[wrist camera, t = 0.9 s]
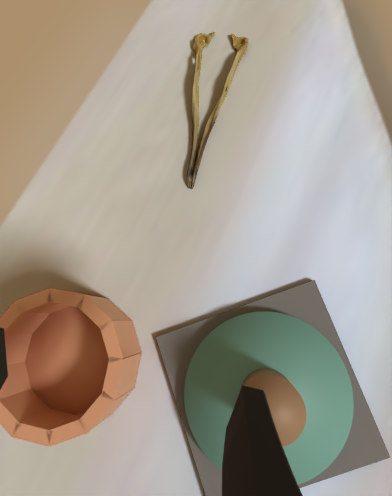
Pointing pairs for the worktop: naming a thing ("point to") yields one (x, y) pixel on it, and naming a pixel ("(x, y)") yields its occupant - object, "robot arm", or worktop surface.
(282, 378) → the lid
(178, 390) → the mat
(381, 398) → the worktop surface
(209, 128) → the tongs
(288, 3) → the worktop surface
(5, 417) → the bowl
